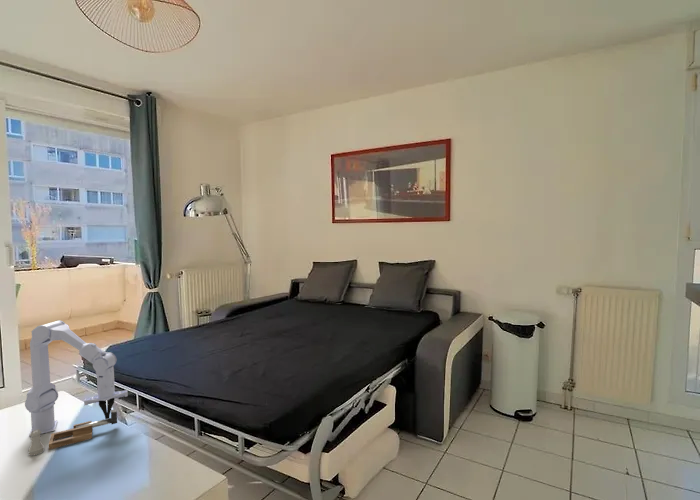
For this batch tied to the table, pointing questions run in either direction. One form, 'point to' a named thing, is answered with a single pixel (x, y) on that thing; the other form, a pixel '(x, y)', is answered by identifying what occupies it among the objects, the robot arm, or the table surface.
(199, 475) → the table surface
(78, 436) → the wooden frame
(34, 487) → the table surface
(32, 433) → the rook chess piece
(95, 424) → the grey metal hammer
